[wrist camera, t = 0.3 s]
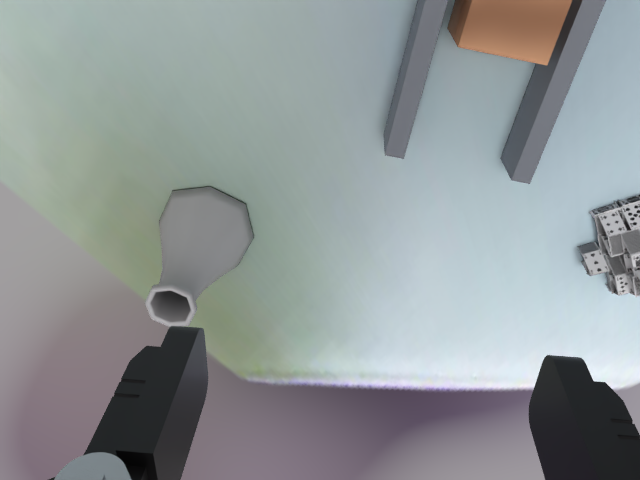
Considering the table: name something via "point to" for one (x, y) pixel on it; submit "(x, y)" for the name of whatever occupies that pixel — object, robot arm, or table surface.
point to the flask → (196, 250)
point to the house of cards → (616, 246)
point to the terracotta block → (509, 27)
